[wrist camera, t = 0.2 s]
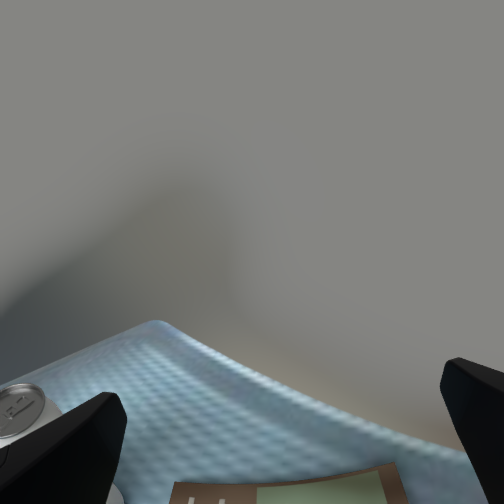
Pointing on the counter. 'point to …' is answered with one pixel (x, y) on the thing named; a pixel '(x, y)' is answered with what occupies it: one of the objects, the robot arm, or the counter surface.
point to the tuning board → (302, 490)
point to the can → (31, 418)
